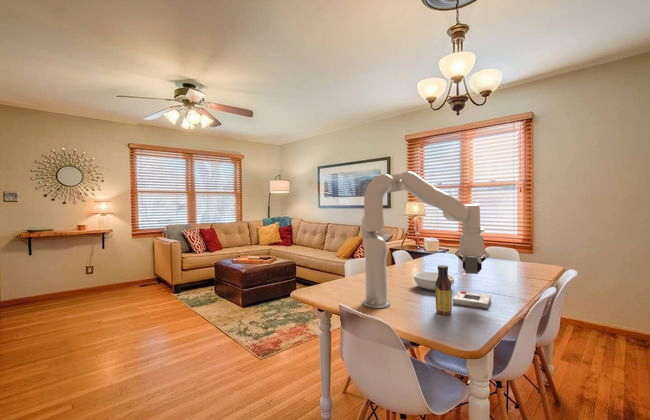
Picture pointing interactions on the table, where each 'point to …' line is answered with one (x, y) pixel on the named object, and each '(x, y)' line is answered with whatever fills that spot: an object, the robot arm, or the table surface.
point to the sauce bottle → (443, 291)
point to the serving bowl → (429, 280)
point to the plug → (471, 265)
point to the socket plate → (472, 300)
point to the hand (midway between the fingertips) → (472, 270)
